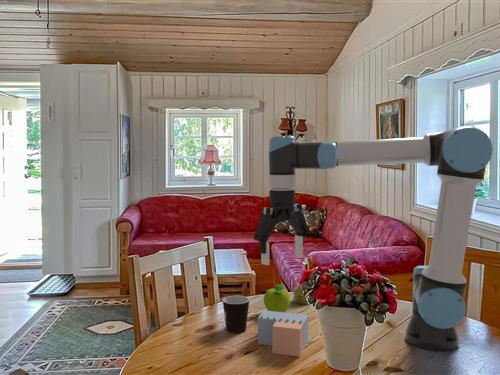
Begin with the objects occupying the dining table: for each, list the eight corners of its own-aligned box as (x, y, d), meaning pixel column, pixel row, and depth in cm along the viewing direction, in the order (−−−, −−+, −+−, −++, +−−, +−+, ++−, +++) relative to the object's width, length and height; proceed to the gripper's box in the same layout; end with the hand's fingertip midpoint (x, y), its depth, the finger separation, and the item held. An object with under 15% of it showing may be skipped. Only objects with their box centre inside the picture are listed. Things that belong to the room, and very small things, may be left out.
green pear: (288, 301, 186) (288, 276, 185) (301, 297, 191) (301, 272, 191) (303, 306, 181) (303, 279, 180) (316, 301, 186) (316, 276, 185)
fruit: (291, 310, 176) (291, 283, 175) (287, 319, 167) (287, 291, 166) (266, 308, 178) (266, 281, 177) (261, 317, 169) (261, 289, 168)
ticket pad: (308, 340, 149) (308, 314, 149) (303, 349, 143) (303, 322, 142) (264, 335, 153) (264, 309, 153) (257, 343, 147) (257, 317, 146)
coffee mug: (246, 335, 153) (246, 304, 152) (219, 333, 155) (219, 303, 154) (253, 322, 164) (253, 293, 163) (228, 320, 166) (228, 292, 165)
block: (303, 349, 142) (303, 322, 142) (299, 356, 138) (300, 328, 137) (276, 346, 145) (276, 319, 144) (272, 353, 140) (272, 325, 139)
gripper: (303, 185, 153) (303, 252, 155) (240, 191, 137) (241, 265, 139) (320, 187, 147) (320, 256, 149) (257, 193, 132) (258, 270, 133)
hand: (282, 260), depth 144 cm, fingers open, 13 cm apart
